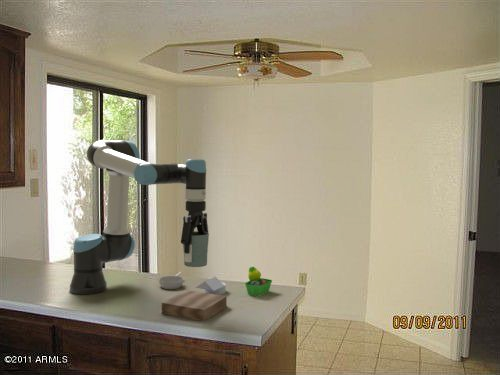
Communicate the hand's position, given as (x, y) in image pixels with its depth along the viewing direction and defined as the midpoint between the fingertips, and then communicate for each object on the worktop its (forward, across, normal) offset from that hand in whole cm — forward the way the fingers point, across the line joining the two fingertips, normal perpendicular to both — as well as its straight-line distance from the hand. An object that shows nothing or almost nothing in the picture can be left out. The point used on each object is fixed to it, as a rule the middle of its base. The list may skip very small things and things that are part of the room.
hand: (195, 258), depth 178 cm
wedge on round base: (+20, +22, +4) cm, 30 cm away
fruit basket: (+20, +31, -13) cm, 39 cm away
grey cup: (+2, 0, 0) cm, 2 cm away
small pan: (+20, +26, +26) cm, 42 cm away
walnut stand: (+20, 0, 0) cm, 20 cm away
